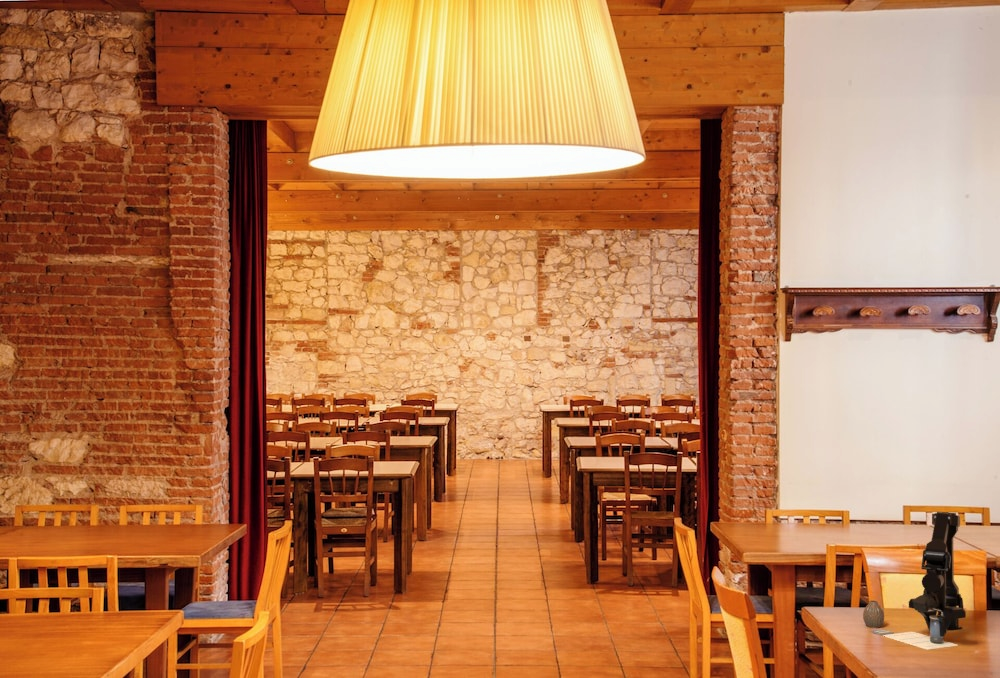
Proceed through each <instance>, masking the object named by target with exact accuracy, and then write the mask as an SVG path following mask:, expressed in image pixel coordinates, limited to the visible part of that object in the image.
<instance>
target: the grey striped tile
mask: <svg viewBox="0 0 1000 678" xmlns="http://www.w3.org/2000/svg"><path fill="white" fill-rule="evenodd" d="M869 632H870V633H871V632H872V634H876V635H879V636H883V635H888V634H895V632H894V631H891V630H887V629H884V628H883V629H875V630H869Z"/></svg>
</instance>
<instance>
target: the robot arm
mask: <svg viewBox="0 0 1000 678" xmlns="http://www.w3.org/2000/svg"><path fill="white" fill-rule="evenodd" d="M931 525H933V530H932V537H931V541H928V542H927V543H926V545H925V549H924V550H923V551H922V561H921V570H925V571H926V573H925V575H924V576H923V577H922V579H921V585H922V588H923V593H922V594H920V595H919V596H917V597H915V598H910V599H909V601H908V608H909V609H914V611H917V613H919V614H920V615H921V616H922V617H923V618H924V620H925V623H926V626H927V629H928V632H929V633H930V618H929V616H930V615H939V616H936V617H937V618H938V619H939V623H940V636H941V637H943V638H944V637H945V635H946V633H947V631H952V630H959V629H963V626H960V625H959V619H966V616H967V615H966V614H967V613H966V612H967V611H966V610H965V609H964V599H963V597H962V596H961V595H962V593H960V588H959V586H958V585H957V583H956V582H955V580H954V579H955V578H954V577H955V575H954V574H955V573H954V571H955V569H954V568H955V567H954V562H955V561H954V537H956V535H957V533H958V531H959V527H961V516H960V515H957V513H956V512H947V511H946V512H945V511H937V512H935V513H932V514H931Z"/></svg>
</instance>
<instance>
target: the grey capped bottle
mask: <svg viewBox="0 0 1000 678" xmlns="http://www.w3.org/2000/svg"><path fill="white" fill-rule="evenodd" d="M936 616H939V615H937V614H936V615H930V616H929V618H930V632H929V637H930V641H931V642H934V643H943V641H944V637H941V636H940V623H939V619H938V618H937V617H936Z"/></svg>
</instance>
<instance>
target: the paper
mask: <svg viewBox="0 0 1000 678" xmlns="http://www.w3.org/2000/svg"><path fill="white" fill-rule="evenodd" d="M884 636H885V637H884ZM882 637H884V638H888V639H891V640H895V641H898V642H901V643H904V644H908V645H911V646H914V647H917V648H920V649H923V650H928V651H929V650H935V649H944V648H951V647H953V648H954V647H958V646H959V645H958V643H957V644H955V643H953V642H950V641H949V642H948V641H945V640H943V643H934V642H931V641H930V635H925V634H923V633H918V632H915V631H906V632H899V633H894V634H886V635H882Z"/></svg>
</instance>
